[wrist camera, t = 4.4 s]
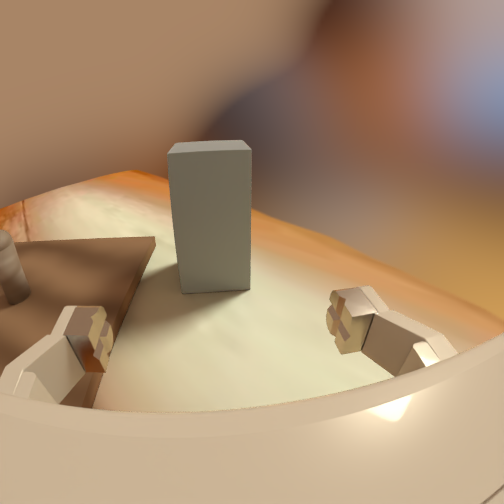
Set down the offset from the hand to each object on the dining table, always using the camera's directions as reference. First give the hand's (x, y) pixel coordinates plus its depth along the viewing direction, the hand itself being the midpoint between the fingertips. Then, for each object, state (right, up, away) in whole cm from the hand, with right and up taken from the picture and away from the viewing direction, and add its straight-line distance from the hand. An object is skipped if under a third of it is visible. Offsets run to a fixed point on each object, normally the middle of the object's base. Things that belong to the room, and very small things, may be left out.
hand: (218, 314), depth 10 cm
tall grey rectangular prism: (-2, 0, +13) cm, 14 cm away
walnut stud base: (-17, -2, +8) cm, 19 cm away
